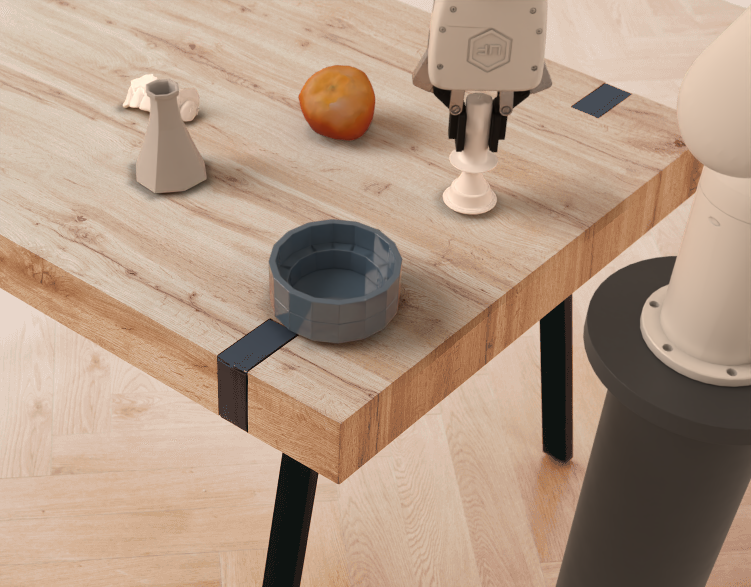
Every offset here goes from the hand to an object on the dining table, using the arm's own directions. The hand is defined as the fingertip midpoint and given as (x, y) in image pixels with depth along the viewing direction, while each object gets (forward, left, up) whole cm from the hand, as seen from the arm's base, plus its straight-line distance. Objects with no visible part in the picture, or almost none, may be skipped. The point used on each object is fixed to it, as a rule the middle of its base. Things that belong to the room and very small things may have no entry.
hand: (475, 142), depth 102 cm
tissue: (+36, +3, -7) cm, 36 cm away
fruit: (+18, -4, -7) cm, 19 cm away
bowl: (+4, +20, -7) cm, 21 cm away
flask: (+28, +12, -7) cm, 31 cm away
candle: (0, 0, -7) cm, 7 cm away
